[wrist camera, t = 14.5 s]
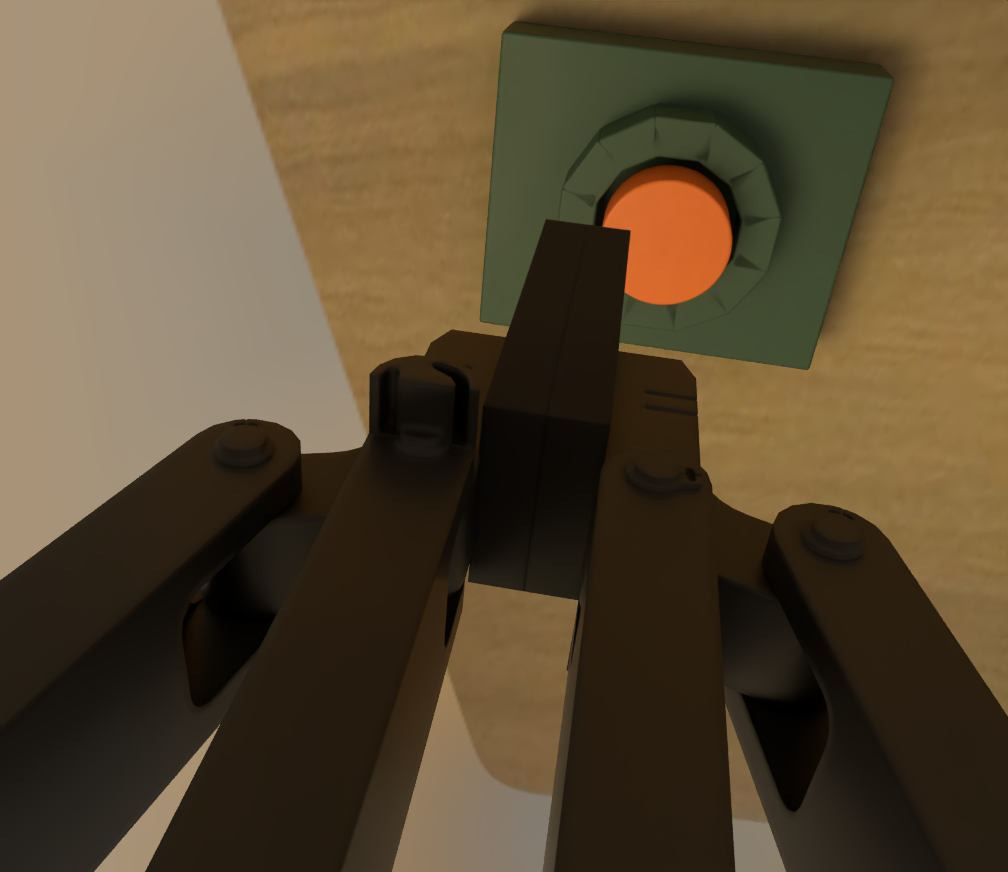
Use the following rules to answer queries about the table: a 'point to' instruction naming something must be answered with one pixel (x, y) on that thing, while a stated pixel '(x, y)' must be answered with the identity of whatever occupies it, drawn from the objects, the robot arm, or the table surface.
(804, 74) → the button block
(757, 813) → the table surface
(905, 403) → the table surface
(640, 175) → the button
